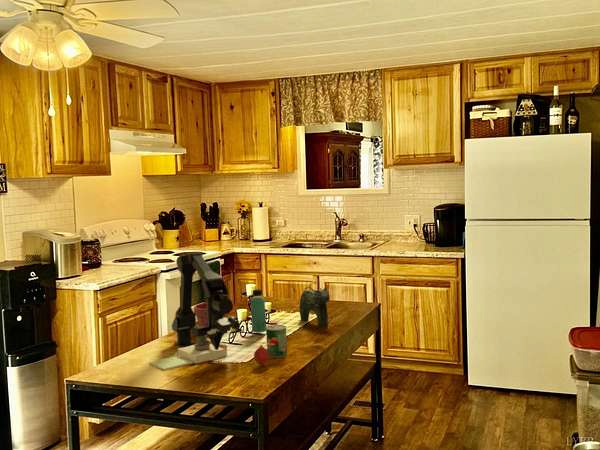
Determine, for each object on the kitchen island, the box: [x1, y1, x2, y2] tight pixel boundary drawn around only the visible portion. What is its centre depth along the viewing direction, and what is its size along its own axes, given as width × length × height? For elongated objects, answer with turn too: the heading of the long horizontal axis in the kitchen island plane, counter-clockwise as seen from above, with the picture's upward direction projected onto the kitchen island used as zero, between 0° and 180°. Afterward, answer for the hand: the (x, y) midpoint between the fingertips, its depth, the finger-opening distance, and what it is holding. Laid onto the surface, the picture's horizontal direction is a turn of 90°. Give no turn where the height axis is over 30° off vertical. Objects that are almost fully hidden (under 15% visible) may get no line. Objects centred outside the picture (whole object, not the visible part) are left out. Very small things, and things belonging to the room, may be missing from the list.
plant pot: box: [193, 302, 208, 327], centre depth 296 cm, size 14×14×13 cm
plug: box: [193, 334, 210, 351], centre depth 259 cm, size 6×6×10 cm
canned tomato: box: [265, 324, 288, 358], centre depth 257 cm, size 8×8×11 cm
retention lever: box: [207, 338, 228, 349], centre depth 259 cm, size 20×2×1 cm, turn 39°
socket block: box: [177, 344, 228, 364], centre depth 259 cm, size 14×14×5 cm
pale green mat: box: [148, 355, 193, 371], centre depth 251 cm, size 12×12×1 cm
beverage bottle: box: [250, 288, 267, 334], centre depth 290 cm, size 6×7×20 cm
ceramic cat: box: [299, 281, 331, 327], centre depth 308 cm, size 20×6×20 cm, turn 34°
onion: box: [253, 344, 271, 367], centre depth 243 cm, size 6×6×8 cm
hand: (216, 349), depth 251 cm, fingers closed
